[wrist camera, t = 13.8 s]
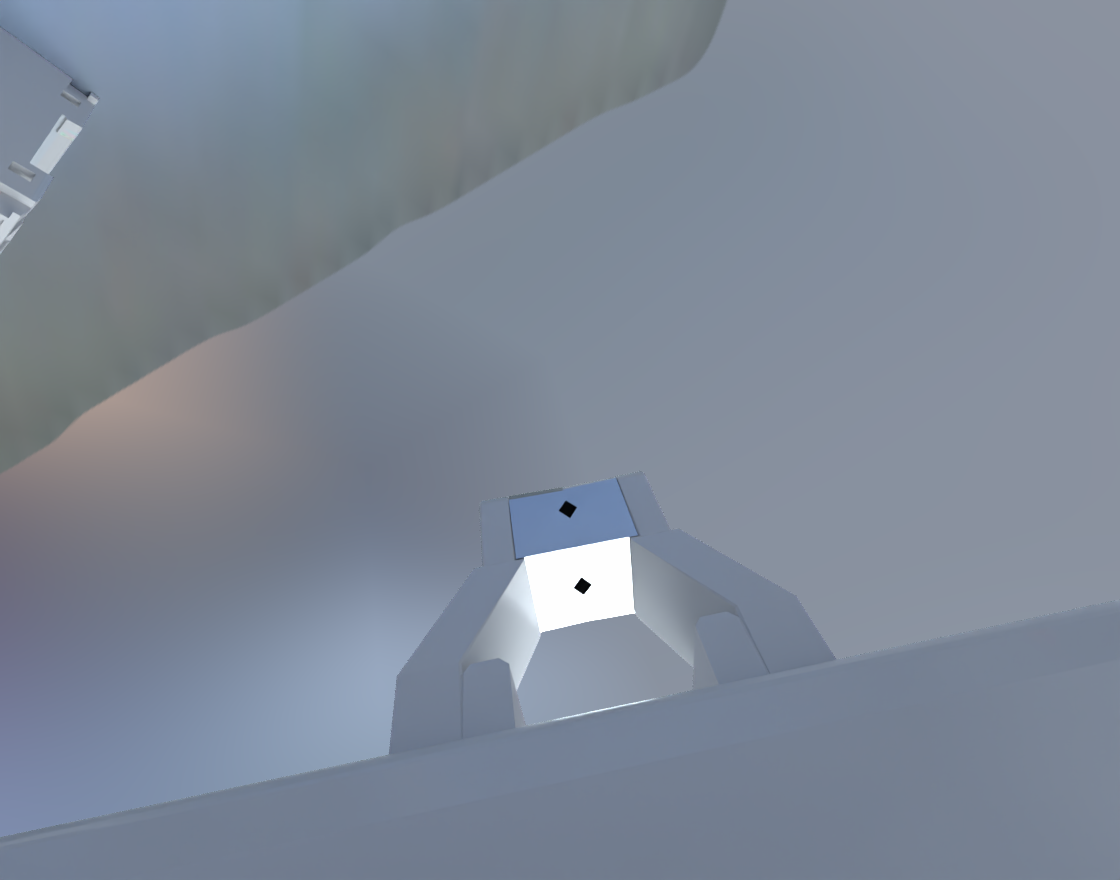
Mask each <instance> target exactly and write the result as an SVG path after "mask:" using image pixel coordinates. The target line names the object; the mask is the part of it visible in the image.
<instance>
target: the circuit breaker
mask: <svg viewBox="0 0 1120 880" xmlns="http://www.w3.org/2000/svg"><path fill="white" fill-rule="evenodd" d="M72 80H73V79H72V78H71V77H70V76H68V75H67V74H65V73H64V72H63V71H61V70H60V69H58V68H57V67H56V66H54V65H53V64H52V63H50V62H49V61H47V60H46V59H45V58H43V57H42V56H40V55H39V54H38V53H36V52H35V51H34V50H32V49H31V48H29V47H28V46H27V45H25V44H24V43H22V42H21V41H20V40H18V39H17V38H16V37H14V36H13V35H11V34H10V33H9V32H7V31H6V30H4V29H3V28H2V27H0V254H1V252H2V251H3V250H4V248H5V247H6V246H7V244H8V243H9V241H10V240H11V239H12V237H13V236H14V235H15V233H16V232H17V231H18V229H19V228H20V227H21V225H22V224H23V223H24V222H23V219H24V218H25V216H26V215H27V214H28V213H29V212H30V211H31V210H32V209H33V208H34V207H35V205H36V204H37V203H38V202H39V201H40V199H41V198H42V196H43V195H44V193H45V191H46V190H47V188H48V186H49V184H50V183H51V181H52V179H53V178H54V177H52V176H50V175H49V173H50V172H51V170H52V169H53V168H54V166H55V165H56V164H57V162H58V161H59V159H60V158H61V157H62V155H63V154H64V153H65V151H66V150H67V149H68V147H69V146H70V144H71V143H72V142H73V140H74V139H75V138H76V136H77V135H78V133H79V132H80V131H81V129H82V128H83V126H84V125H85V123H86V121H87V119H88V118H89V116H90V114H91V113H92V111H93V109H94V106H95V105H96V103H97V102H98V101H99V99H100V98H99V97H97V96H96V95H94V94H93V93H92V92H91V93H90V95H89V96H88V97H87V96H86V95H84V94H83V93H81V92H80V91H79V90H77V89H76V88H74V87H73V86H72V85H70V83H71V81H72Z"/></svg>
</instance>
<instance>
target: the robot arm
mask: <svg viewBox="0 0 1120 880" xmlns="http://www.w3.org/2000/svg"><path fill="white" fill-rule="evenodd" d="M479 511H480V531H481V550H482V567H479V568H474V569H473V571H472V572H471V574H470V575H469V576H468V578H467V579H466V580H465V582H464V583H463V585H462V586H461V587H460V589H459V590H458V592H457V593H456V594H455V596H454V597H453V599H452V600H451V601H450V603H449V604H448V606H447V607H446V608H445V610H444V611H443V613H442V614H441V616H440V617H439V618H438V620H437V621H436V622H435V624H434V625H433V627H432V628H431V629H430V631H429V632H428V634H427V635H426V636H425V638H424V639H423V641H422V642H421V643H420V645H419V646H418V648H417V649H416V650H415V652H414V653H413V655H412V656H411V657H410V659H409V660H408V662H407V663H406V664H405V666H404V667H403V668H402V670H401V671H400V673H399V674H398V675H397V680H396V690H395V700H394V710H393V720H392V730H391V740H390V749H389V755H385V756H381V757H376V758H371V759H366V760H361V761H357V762H352V763H347V764H343V765H338V766H333V767H329V768H324V769H319V770H314V771H310V772H305V773H300V774H296V775H291V776H286V777H282V778H277V779H273V780H267V781H263V782H258V783H253V784H249V785H244V786H240V787H234V788H230V789H225V790H220V791H216V792H211V793H207V794H202V795H197V796H192V797H188V798H183V799H178V800H173V801H169V802H164V803H159V804H154V805H150V806H145V807H140V808H136V809H131V810H126V811H122V812H117V813H112V814H108V815H103V816H98V817H93V818H89V819H84V820H79V821H75V822H70V823H65V824H60V825H56V826H51V827H46V828H42V829H37V830H32V831H28V832H23V833H18V834H14V835H9V836H4V837H0V880H1120V600H1115V601H1110V602H1105V603H1101V604H1097V605H1092V606H1087V607H1082V608H1077V609H1072V610H1068V611H1063V612H1058V613H1054V614H1049V615H1044V616H1040V617H1035V618H1030V619H1026V620H1021V621H1016V622H1011V623H1007V624H1002V625H997V626H992V627H988V628H983V629H978V630H973V631H969V632H964V633H959V634H955V635H950V636H945V637H940V638H936V639H931V640H927V641H921V642H917V643H912V644H907V645H903V646H898V647H893V648H888V649H884V650H879V651H874V652H870V653H865V654H860V655H855V656H851V657H846V658H842V659H836V658H835V656H834V655H833V653H832V652H831V650H830V649H829V647H828V645H827V644H826V642H825V641H824V639H823V638H822V636H821V634H820V633H819V631H818V630H817V628H816V627H815V625H814V623H813V622H812V620H811V619H810V617H809V616H808V614H807V612H806V611H805V609H804V607H803V606H802V604H801V603H800V601H799V600H798V598H797V596H796V595H794V594H792V593H790V592H789V591H787V590H785V589H783V588H782V587H780V586H778V585H776V584H775V583H773V582H771V581H769V580H768V579H766V578H764V577H762V576H761V575H759V574H757V573H755V572H754V571H752V570H750V569H748V568H747V567H745V566H743V565H742V564H740V563H738V562H736V561H735V560H733V559H731V558H729V557H728V556H726V555H724V554H722V553H720V552H719V551H717V550H715V549H714V548H712V547H710V546H709V545H707V544H705V543H703V542H702V541H700V540H698V539H696V538H694V537H693V536H691V535H689V534H688V533H686V532H684V531H682V530H681V529H674V530H671V529H670V527H669V525H668V523H667V521H666V518H665V516H664V514H663V512H662V510H661V508H660V505H659V503H658V501H657V499H656V497H655V495H654V493H653V490H652V488H651V486H650V484H649V482H648V480H647V478H646V475H645V474H644V473H643V472H642V471H639V472H635V473H630V474H625V475H620V476H616V477H615V478H609V479H604V480H599V481H593V482H589V483H583V484H578V485H573V486H567V487H562V488H555V489H549V490H543V491H538V492H531V493H525V494H519V495H513V496H509V498H508V497H503V498H497V499H491V500H485V501H481V502H480V506H479ZM631 613H635V615H636V616H637V617H638V618H639V619H640V620H641V621H642V622H643V623H644V624H645V625H647V626H648V627H649V628H650V629H651V630H652V631H653V632H654V633H655V634H657V635H658V636H659V637H660V638H661V639H662V640H663V641H664V642H665V643H666V644H668V645H669V646H670V647H671V648H672V649H673V650H674V651H675V652H676V653H677V654H679V655H680V656H681V657H682V658H683V659H684V660H685V661H686V662H687V663H689V664H690V665H691V666H692V667H693V668H694V671H693V690H692V691H687V692H682V693H677V694H673V695H668V696H663V697H659V698H654V699H649V700H645V701H640V702H635V703H631V704H626V705H621V706H616V707H612V708H607V709H602V710H597V711H593V712H588V713H583V714H578V715H573V716H569V717H564V718H559V719H555V720H550V721H545V722H540V723H536V724H531V725H526V724H525V721H524V717H523V713H522V710H521V706H520V702H519V699H518V695H517V689H518V686H519V684H520V682H521V679H522V677H523V675H524V672H525V670H526V668H527V666H528V664H529V661H530V659H531V657H532V654H533V652H534V650H535V647H536V645H537V643H538V640H539V638H540V636H541V633H540V632H543V631H547V630H551V629H556V628H560V627H564V626H568V625H573V624H577V623H581V622H586V621H591V620H597V619H603V618H608V617H614V616H620V615H625V614H631Z"/></svg>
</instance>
